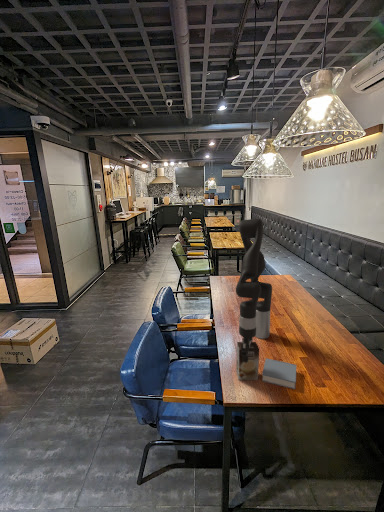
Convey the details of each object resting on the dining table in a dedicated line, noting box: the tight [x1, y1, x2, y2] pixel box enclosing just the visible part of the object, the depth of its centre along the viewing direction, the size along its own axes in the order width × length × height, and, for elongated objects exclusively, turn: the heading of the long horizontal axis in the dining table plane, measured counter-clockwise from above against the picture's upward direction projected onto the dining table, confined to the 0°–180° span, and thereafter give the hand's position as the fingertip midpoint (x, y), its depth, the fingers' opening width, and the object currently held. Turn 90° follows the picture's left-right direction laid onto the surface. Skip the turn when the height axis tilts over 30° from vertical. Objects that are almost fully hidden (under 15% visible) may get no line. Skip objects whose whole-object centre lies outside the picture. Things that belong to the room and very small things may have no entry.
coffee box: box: [235, 341, 260, 381], centre depth 114 cm, size 9×6×16 cm
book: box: [261, 357, 297, 390], centre depth 114 cm, size 12×14×4 cm
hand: (247, 356), depth 114 cm, fingers closed on coffee box, 8 cm apart
